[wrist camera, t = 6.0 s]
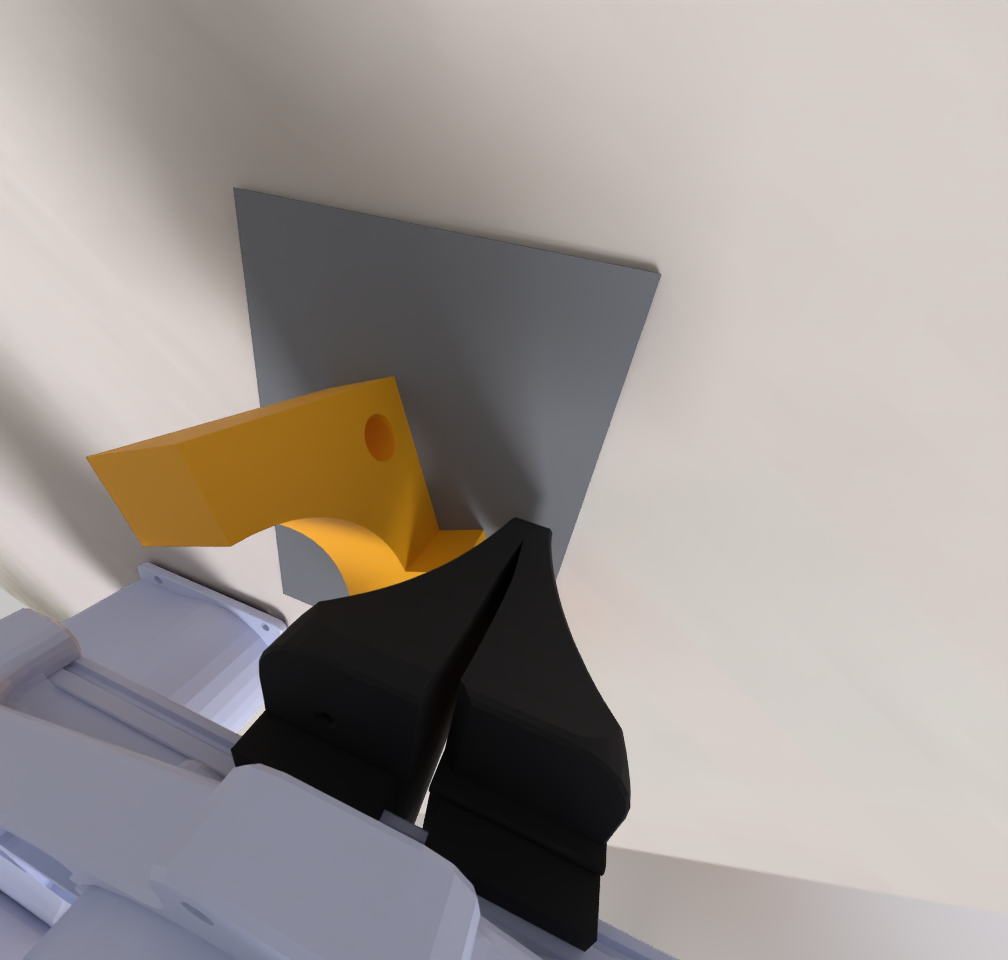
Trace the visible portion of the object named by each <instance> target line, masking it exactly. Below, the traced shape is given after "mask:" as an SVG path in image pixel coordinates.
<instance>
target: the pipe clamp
mask: <svg viewBox="0 0 1008 960" xmlns="http://www.w3.org/2000/svg"><path fill="white" fill-rule="evenodd" d="M86 459H87V460H88V462H89V463H90V465H91V467H92V468H93V470H94V471H95V473H96V474H97V476H98V477H99V479H100V481H101V482H102V484H103V485H104V487H105V488H106V490H107V491H108V493H109V494H110V496H111V498H112V499H113V501H114V502H115V504H116V505H117V507H118V508H119V510H120V512H121V513H122V515H123V516H124V518H125V519H126V521H127V522H128V524H129V526H130V527H131V529H132V530H133V532H134V533H135V535H136V536H137V538H138V539H139V541H140V543H141V544H142V546H201V547H231V546H233V545H234V544H236V543H238V542H240V541H242V540H244V539H245V538H247V537H249V536H251V535H253V534H255V533H258V532H260V531H262V530H265V529H267V528H269V527H272V526H275V525H278V524H280V525H283V526H286V527H289V528H292V529H294V530H296V531H298V532H300V533H302V534H304V535H306V536H307V537H309V538H310V539H312V540H313V541H314V542H316V543H317V544H318V545H319V546H320V547H322V548H323V549H324V551H325V552H326V553H327V554H328V555H329V556H330V557H331V559H332V560H333V561H334V563H335V564H336V565H337V567H338V569H339V571H340V573H341V574H342V576H343V579H344V581H345V583H346V586H347V589H348V592H349V595H350V596H351V595H357V594H361V593H365V592H369V591H373V590H377V589H381V588H384V587H388V586H391V585H394V584H398V583H401V582H404V581H406V580H409V579H412V578H414V577H417V576H419V575H422V574H424V573H426V572H429V571H431V570H433V569H435V568H438V567H440V566H442V565H444V564H446V563H448V562H450V561H451V560H453V559H455V558H457V557H459V556H460V555H462V554H464V553H465V552H467V551H469V550H470V549H472V548H474V547H475V546H477V545H478V544H480V543H481V542H482V541H484V540H485V539H486V536H485V532H484V530H439V526H438V523H437V520H436V516H435V513H434V510H433V506H432V503H431V499H430V496H429V493H428V489H427V486H426V482H425V479H424V476H423V472H422V469H421V466H420V462H419V459H418V455H417V452H416V449H415V445H414V442H413V438H412V435H411V432H410V428H409V425H408V421H407V418H406V415H405V411H404V408H403V405H402V401H401V398H400V394H399V391H398V388H397V384H396V381H395V377H394V376H393V377H387V378H382V379H376V380H371V381H365V382H360V383H355V384H349V385H344V386H338V387H333V388H328V389H325V390H321V391H317V392H314V393H310V394H307V395H303V396H300V397H296V398H293V399H289V400H286V401H282V402H279V403H275V404H272V405H268V406H265V407H261V408H257V409H254V410H250V411H247V412H243V413H240V414H236V415H233V416H229V417H226V418H222V419H219V420H215V421H212V422H208V423H204V424H201V425H197V426H194V427H190V428H187V429H183V430H180V431H176V432H173V433H169V434H166V435H162V436H159V437H155V438H152V439H148V440H144V441H141V442H137V443H134V444H130V445H127V446H123V447H120V448H116V449H113V450H109V451H106V452H102V453H99V454H95V455H91V456H88V457H86Z"/></svg>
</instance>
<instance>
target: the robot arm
mask: <svg viewBox="0 0 1008 960" xmlns="http://www.w3.org/2000/svg"><path fill="white" fill-rule="evenodd" d="M552 534H553V533H552V531H551V529H549V528H546V527H543V526H540V525H538V524H535V523H532V522H529V521H526V520H523V519H520V518H517V517H514V518H512V519H511V520H509V521H508V522H507V523H506V524H505V525H504V526H503V527H501V528H500V529H499V530H498V531H496V532H495V533H494V534H492V535H491V536H490V537H488V538H487V539H485V540H484V541H482V542H481V543H480V544H478V545H477V546H475V547H474V548H472V549H470V550H469V551H467V552H465V553H464V554H462V555H460V556H459V557H457V558H455V559H453V560H451V561H450V562H448V563H446V564H444V565H442V566H440V567H438V568H435V569H433V570H431V571H429V572H426V573H424V574H422V575H419V576H417V577H414V578H412V579H409V580H406V581H404V582H401V583H398V584H394V585H391V586H388V587H384V588H381V589H377V590H373V591H369V592H365V593H361V594H357V595H351V596H346V597H341V598H336V599H331V600H325V601H319V602H318V603H316V604H315V605H314V606H313V607H312V608H310V609H309V610H308V611H306V612H305V613H304V614H303V615H301V616H300V617H299V618H298V619H297V620H296V621H295V622H294V623H292V624H291V625H290V626H289V627H288V628H287V627H286V625H285V623H284V622H283V621H281V620H280V619H278V618H275V617H273V616H271V615H269V614H266V613H264V612H262V611H259V610H257V609H255V608H252V607H250V606H248V605H246V604H243V603H241V602H239V601H236V600H234V599H232V598H229V597H227V596H225V595H223V594H220V593H218V592H216V591H213V590H211V589H209V588H206V587H204V586H202V585H200V584H197V583H195V582H193V581H190V580H188V579H186V578H183V577H181V576H179V575H177V574H174V573H172V572H170V571H167V570H165V569H163V568H160V567H158V566H156V565H154V564H151V563H148V562H145V563H143V564H141V565H139V566H138V568H137V570H138V573H139V576H140V579H139V580H137V581H135V582H133V583H131V584H130V585H128V586H126V587H124V588H123V589H121V590H119V591H117V592H116V593H114V594H112V595H110V596H108V597H107V598H105V599H103V600H101V601H100V602H98V603H96V604H94V605H92V606H91V607H89V608H87V609H85V610H84V611H82V612H80V613H78V614H76V615H75V616H73V617H71V618H69V619H68V620H66V621H64V622H62V623H61V624H59V623H57V622H55V621H53V620H51V619H49V618H47V617H45V616H43V615H41V614H39V613H37V612H35V611H33V610H31V609H25V608H23V609H21V610H19V611H17V612H15V613H13V614H11V615H9V616H7V617H5V618H3V619H1V620H0V960H678V959H676V958H674V957H672V956H671V955H669V954H667V953H665V952H663V951H661V950H659V949H657V948H655V947H653V946H651V945H649V944H647V943H645V942H643V941H641V940H639V939H637V938H635V937H633V936H631V935H629V934H628V933H626V932H624V931H622V930H620V929H618V928H616V927H614V926H612V925H610V924H608V923H606V922H604V921H602V920H600V919H598V912H599V893H600V875H601V876H602V875H603V874H604V872H605V868H606V848H607V841H608V840H609V839H610V837H611V836H612V835H613V834H614V832H615V831H616V830H617V828H618V827H619V826H620V825H621V823H622V822H623V821H624V820H625V818H626V816H627V814H628V812H629V809H630V796H631V791H630V777H629V768H628V760H627V753H626V747H625V742H624V736H623V731H622V729H621V727H620V725H619V724H618V722H617V721H616V719H615V717H614V716H613V714H612V713H611V711H610V709H609V708H608V706H607V705H606V703H605V702H604V700H603V698H602V696H601V695H600V693H599V691H598V689H597V687H596V686H595V684H594V682H593V680H592V678H591V676H590V674H589V673H588V671H587V668H586V666H585V664H584V662H583V660H582V657H581V655H580V653H579V651H578V649H577V647H576V644H575V642H574V640H573V637H572V635H571V632H570V629H569V627H568V624H567V621H566V618H565V615H564V612H563V609H562V605H561V602H560V598H559V594H558V590H557V586H556V581H555V575H554V568H553V561H552V549H551V542H552ZM264 704H265V709H266V710H265V711H264V712H263V714H262V715H261V716H260V717H259V718H258V719H257V720H256V721H255V723H254V724H253V725H252V726H251V727H250V728H249V729H248V730H247V731H246V733H245V734H244V735H243V736H240V735H238V734H237V733H238V732H239V731H240V730H241V729H242V728H243V726H244V725H245V724H246V723H247V722H248V721H249V720H250V719H251V718H252V717H253V715H254V714H255V713H256V712H257V711H258V710H259V709H260V708H261V707H262V706H263V705H264ZM447 737H448V738H447ZM446 740H447V743H446ZM445 743H446V747H445V750H444V752H443V755H442V757H441V760H440V762H439V765H438V767H437V769H436V766H437V763H438V761H439V758H440V756H441V753H442V750H443V748H444V745H445ZM435 769H436V772H435V774H434V771H435ZM433 774H434V777H433V779H432V776H433ZM431 779H432V782H431ZM430 782H431V784H430ZM429 784H430V787H429ZM428 787H429V792H430V795H429V799H428V804H427V809H426V814H425V819H424V824H423V828H420V827H418V826H416V825H414V824H415V821H416V818H417V816H418V813H419V811H420V808H421V805H422V803H423V800H424V797H425V795H426V792H427V789H428Z"/></svg>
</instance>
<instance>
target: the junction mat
mask: <svg viewBox="0 0 1008 960" xmlns="http://www.w3.org/2000/svg"><path fill="white" fill-rule="evenodd" d="M233 189H234V197H235V205H236V213H237V221H238V229H239V238H240V246H241V254H242V262H243V270H244V278H245V286H246V294H247V303H248V311H249V319H250V327H251V335H252V343H253V351H254V359H255V368H256V376H257V384H258V392H259V400H260V408H261V407H265V406H268V405H272V404H275V403H279V402H282V401H286V400H289V399H293V398H296V397H300V396H303V395H307V394H310V393H314V392H317V391H321V390H325V389H328V388H333V387H338V386H344V385H349V384H355V383H360V382H365V381H371V380H376V379H382V378H387V377H393V376H394V377H395V381H396V384H397V388H398V391H399V394H400V398H401V401H402V405H403V408H404V411H405V415H406V418H407V421H408V425H409V428H410V432H411V435H412V438H413V442H414V445H415V449H416V452H417V455H418V459H419V462H420V466H421V469H422V472H423V476H424V479H425V482H426V486H427V489H428V493H429V496H430V499H431V503H432V506H433V510H434V513H435V516H436V520H437V523H438V526H439V530H484V532H485V536H486V539H487V538H488V537H490V536H491V535H492V534H494V533H495V532H496V531H498V530H499V529H500V528H501V527H503V526H504V525H505V524H506V523H507V522H508V521H509V520H511V519H512V518H514V517H517V518H520V519H523V520H526V521H529V522H532V523H535V524H538V525H540V526H543V527H546V528H549V529H551V531H552V533H553V534H552V542H551V549H552V561H553V568H554V575H555V581H556V578H557V575H558V573H559V570H560V567H561V564H562V561H563V558H564V555H565V552H566V549H567V546H568V544H569V541H570V538H571V535H572V532H573V529H574V526H575V523H576V520H577V517H578V515H579V512H580V509H581V506H582V503H583V500H584V497H585V494H586V491H587V488H588V486H589V483H590V480H591V477H592V474H593V471H594V468H595V465H596V462H597V460H598V457H599V454H600V451H601V448H602V445H603V442H604V439H605V436H606V433H607V431H608V428H609V425H610V422H611V419H612V416H613V413H614V410H615V407H616V404H617V402H618V399H619V396H620V393H621V390H622V387H623V384H624V381H625V378H626V375H627V373H628V370H629V367H630V364H631V361H632V358H633V355H634V352H635V349H636V346H637V344H638V341H639V338H640V335H641V332H642V329H643V326H644V323H645V320H646V318H647V315H648V312H649V309H650V306H651V303H652V300H653V297H654V294H655V291H656V289H657V286H658V283H659V280H660V277H661V274H659V273H654V272H649V271H644V270H639V269H634V268H629V267H624V266H619V265H614V264H609V263H604V262H600V261H595V260H590V259H585V258H580V257H575V256H570V255H565V254H560V253H555V252H550V251H545V250H540V249H535V248H530V247H525V246H521V245H516V244H511V243H506V242H501V241H496V240H491V239H486V238H481V237H476V236H471V235H466V234H461V233H456V232H451V231H446V230H442V229H437V228H432V227H427V226H422V225H417V224H412V223H407V222H402V221H397V220H392V219H387V218H382V217H377V216H372V215H367V214H363V213H358V212H353V211H348V210H343V209H338V208H333V207H328V206H323V205H318V204H313V203H308V202H303V201H298V200H293V199H289V198H284V197H279V196H274V195H269V194H264V193H259V192H254V191H249V190H244V189H239V188H234V187H233ZM275 530H276V538H277V546H278V554H279V563H280V571H281V579H282V587H283V594H286V595H288V596H290V597H293V598H295V599H297V600H300V601H302V602H305V603H307V604H309V605H312V606H314V605H315V604H316V603H318V602H319V601H325V600H331V599H336V598H341V597H346V596H350V595H349V592H348V589H347V586H346V583H345V581H344V579H343V576H342V574H341V573H340V571H339V569H338V567H337V565H336V564H335V563H334V561H333V560H332V559H331V557H330V556H329V555H328V554H327V553H326V552H325V551H324V549H323V548H322V547H320V546H319V545H318V544H317V543H316V542H314V541H313V540H312V539H310V538H309V537H307V536H306V535H304V534H302V533H300V532H298V531H296V530H294V529H292V528H289V527H286V526H283V525H280V524H278V525H275Z"/></svg>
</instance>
